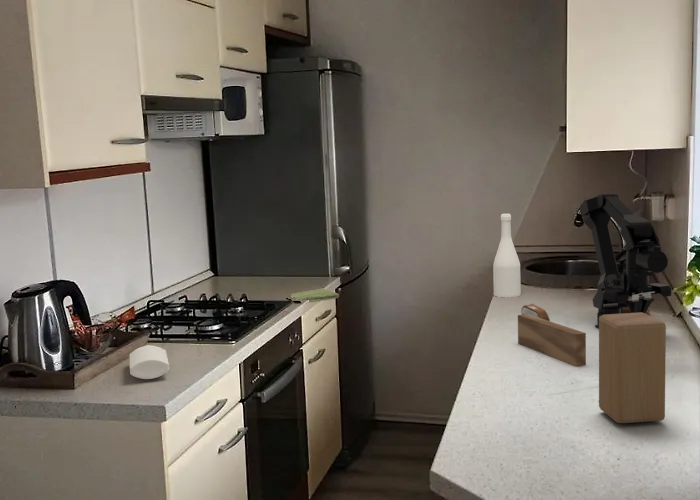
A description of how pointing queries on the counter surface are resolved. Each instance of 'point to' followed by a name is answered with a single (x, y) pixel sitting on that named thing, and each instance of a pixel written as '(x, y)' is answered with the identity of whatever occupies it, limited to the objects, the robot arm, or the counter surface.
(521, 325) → the walnut board
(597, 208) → the robot arm
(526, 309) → the tin
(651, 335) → the wooden block
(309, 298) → the washcloth
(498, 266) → the wine bottle
